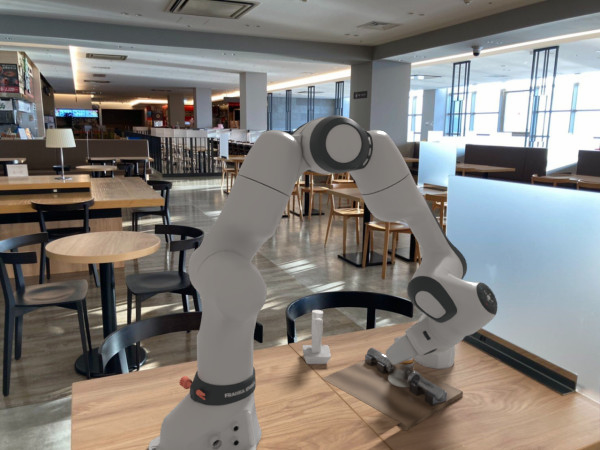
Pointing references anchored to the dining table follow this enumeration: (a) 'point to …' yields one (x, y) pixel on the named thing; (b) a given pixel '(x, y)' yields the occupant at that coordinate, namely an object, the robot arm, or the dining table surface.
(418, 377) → the near steel shaft
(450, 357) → the decorative vase
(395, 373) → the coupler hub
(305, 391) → the dining table surface
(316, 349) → the white peg on base
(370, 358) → the far steel shaft
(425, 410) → the walnut base board
